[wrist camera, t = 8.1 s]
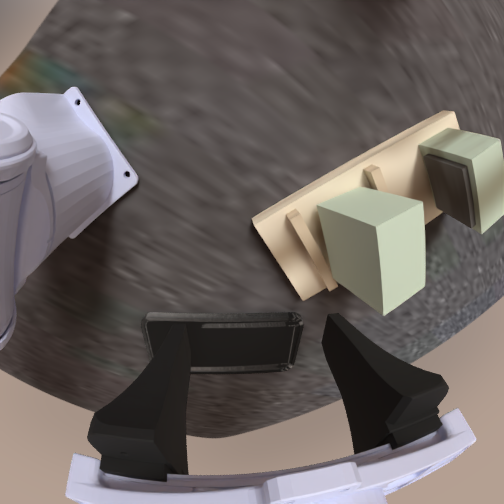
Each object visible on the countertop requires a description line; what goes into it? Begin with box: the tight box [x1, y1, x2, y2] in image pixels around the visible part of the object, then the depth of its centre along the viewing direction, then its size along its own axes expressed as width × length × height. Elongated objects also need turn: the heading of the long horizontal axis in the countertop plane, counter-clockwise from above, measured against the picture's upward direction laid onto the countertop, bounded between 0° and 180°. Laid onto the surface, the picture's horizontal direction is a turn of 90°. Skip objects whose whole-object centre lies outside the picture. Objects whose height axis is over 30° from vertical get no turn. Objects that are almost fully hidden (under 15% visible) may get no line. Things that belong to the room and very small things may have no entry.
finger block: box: [316, 187, 425, 316], centre depth 17 cm, size 5×6×6 cm
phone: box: [141, 312, 303, 374], centre depth 26 cm, size 8×1×15 cm
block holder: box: [252, 111, 504, 301], centre depth 18 cm, size 8×20×8 cm, turn 121°
